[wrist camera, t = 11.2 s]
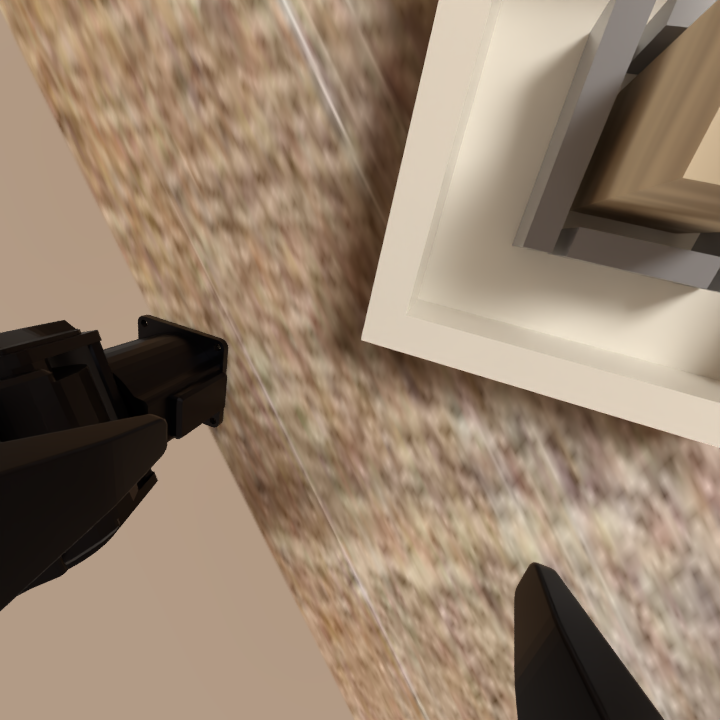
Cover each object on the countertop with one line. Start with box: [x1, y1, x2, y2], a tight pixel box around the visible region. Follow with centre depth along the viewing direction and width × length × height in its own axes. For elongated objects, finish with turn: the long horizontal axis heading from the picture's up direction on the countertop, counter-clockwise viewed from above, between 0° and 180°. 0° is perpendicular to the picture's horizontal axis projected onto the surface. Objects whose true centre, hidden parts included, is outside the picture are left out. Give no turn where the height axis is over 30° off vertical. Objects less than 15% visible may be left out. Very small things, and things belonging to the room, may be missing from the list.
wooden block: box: [570, 0, 720, 234], centre depth 9 cm, size 4×4×8 cm
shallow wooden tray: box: [361, 0, 720, 448], centre depth 12 cm, size 17×17×5 cm
